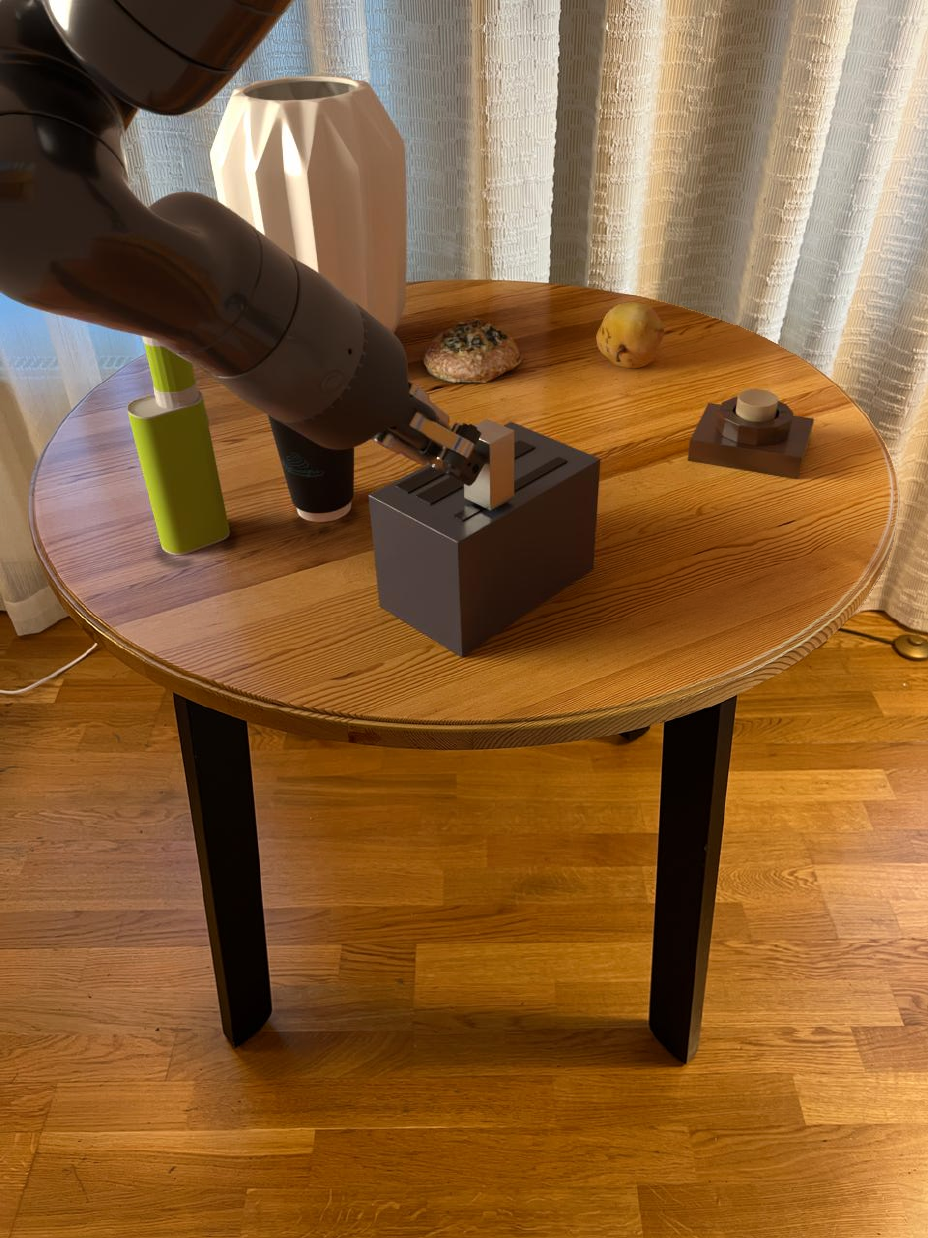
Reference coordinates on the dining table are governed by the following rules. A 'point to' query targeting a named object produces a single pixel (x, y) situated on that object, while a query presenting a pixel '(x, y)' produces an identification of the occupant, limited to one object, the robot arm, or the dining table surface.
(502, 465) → the toaster slider
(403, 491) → the toaster
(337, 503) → the dixie cup
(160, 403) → the vape
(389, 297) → the vase
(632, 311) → the fruit
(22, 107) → the robot arm
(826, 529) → the dining table surface
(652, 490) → the dining table surface
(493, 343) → the bread roll
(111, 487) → the dining table surface
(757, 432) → the block
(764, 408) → the power button
